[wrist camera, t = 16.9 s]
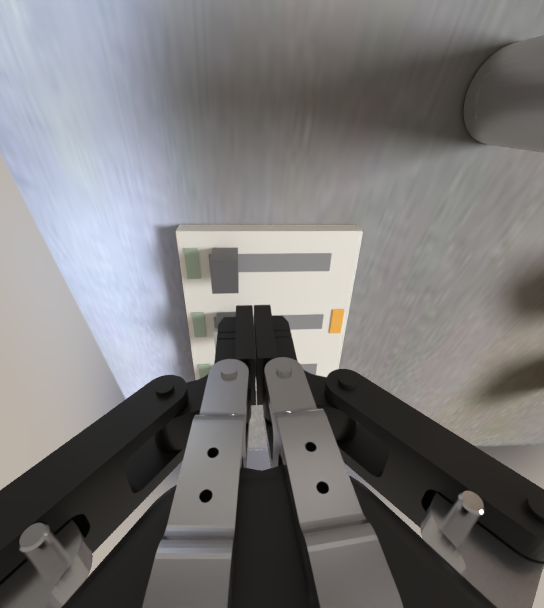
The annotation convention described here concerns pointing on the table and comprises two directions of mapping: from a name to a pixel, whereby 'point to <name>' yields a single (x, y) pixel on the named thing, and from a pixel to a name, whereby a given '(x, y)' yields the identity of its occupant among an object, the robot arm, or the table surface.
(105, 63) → the table surface
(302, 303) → the breaker panel
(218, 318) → the block
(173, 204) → the table surface
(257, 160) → the table surface
